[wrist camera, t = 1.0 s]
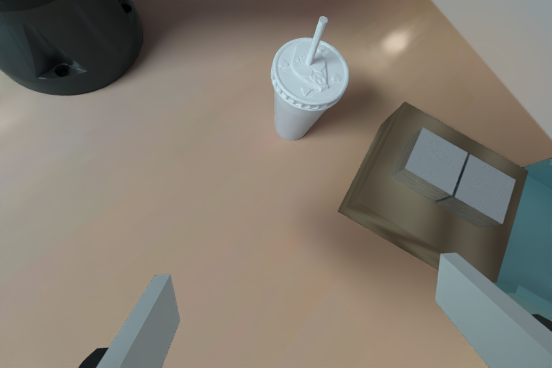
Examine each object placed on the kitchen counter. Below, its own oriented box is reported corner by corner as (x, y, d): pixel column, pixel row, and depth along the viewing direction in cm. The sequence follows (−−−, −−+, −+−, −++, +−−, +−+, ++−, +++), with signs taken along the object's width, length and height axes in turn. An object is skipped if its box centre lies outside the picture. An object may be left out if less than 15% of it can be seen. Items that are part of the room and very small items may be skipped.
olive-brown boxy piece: (337, 211, 30) (356, 201, 25) (381, 124, 33) (404, 101, 29) (454, 279, 29) (496, 282, 25) (486, 184, 33) (528, 171, 28)
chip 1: (389, 176, 26) (404, 168, 24) (406, 139, 27) (422, 127, 25) (432, 201, 26) (452, 195, 24) (447, 162, 27) (467, 152, 25)
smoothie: (300, 92, 33) (341, -24, 20) (329, 137, 32) (393, 47, 19) (252, 113, 32) (261, 4, 18) (280, 161, 31) (312, 82, 17)
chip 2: (434, 202, 26) (454, 196, 24) (450, 163, 27) (470, 154, 25) (478, 227, 26) (502, 224, 24) (491, 187, 27) (515, 179, 25)
